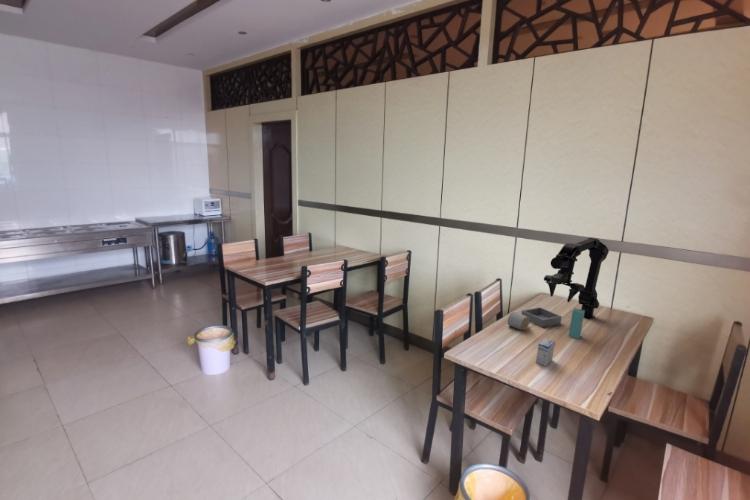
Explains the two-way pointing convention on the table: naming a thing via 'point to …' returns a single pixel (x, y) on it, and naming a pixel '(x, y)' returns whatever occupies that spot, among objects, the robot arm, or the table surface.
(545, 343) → the medicine box
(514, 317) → the ceramic mug
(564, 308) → the table surface
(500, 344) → the table surface
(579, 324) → the handle block
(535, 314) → the box
